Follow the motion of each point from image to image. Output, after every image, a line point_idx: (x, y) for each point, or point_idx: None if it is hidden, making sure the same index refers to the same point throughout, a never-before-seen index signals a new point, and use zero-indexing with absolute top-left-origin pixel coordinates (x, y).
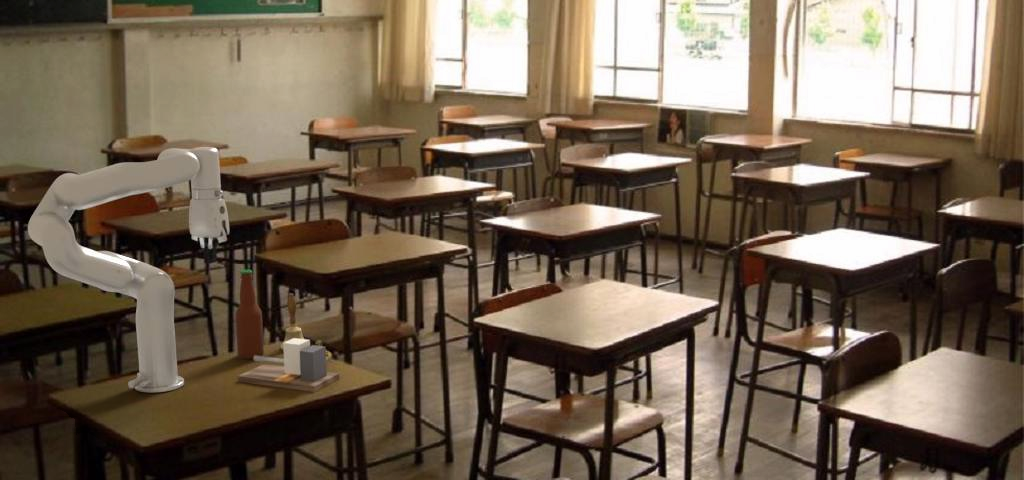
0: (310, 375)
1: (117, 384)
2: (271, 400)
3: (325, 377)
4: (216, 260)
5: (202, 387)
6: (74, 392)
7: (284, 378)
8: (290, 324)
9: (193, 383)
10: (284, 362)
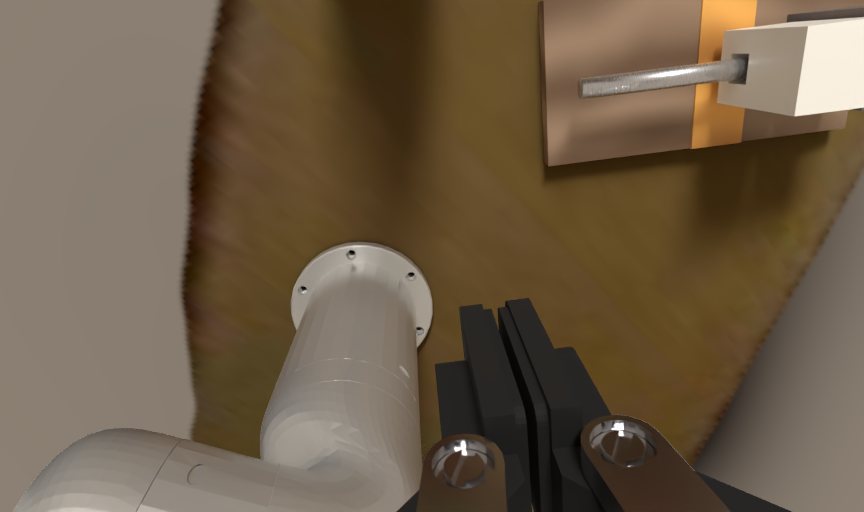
0: None
1: (247, 348)
2: (739, 245)
3: None
4: (529, 301)
5: (483, 255)
6: (216, 436)
7: (714, 114)
8: None
9: (431, 242)
10: (741, 106)
